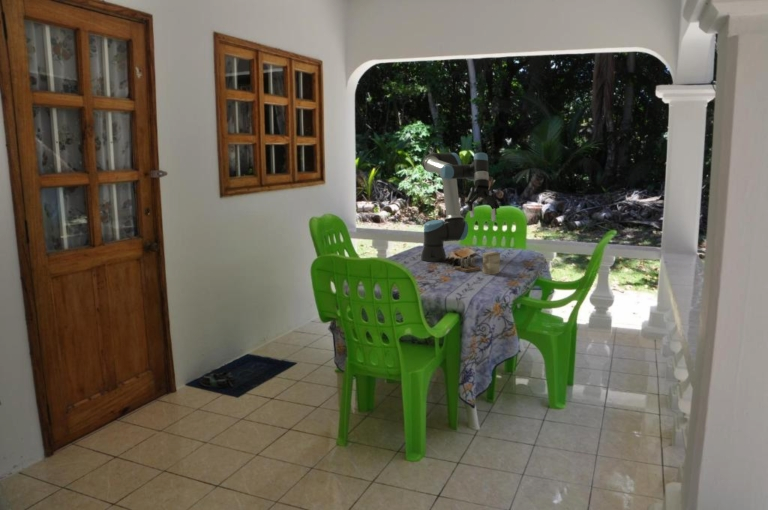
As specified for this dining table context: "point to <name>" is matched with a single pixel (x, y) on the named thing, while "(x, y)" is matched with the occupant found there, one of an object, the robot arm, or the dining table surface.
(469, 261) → the stand
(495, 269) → the beige mottled block
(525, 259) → the dining table surface
